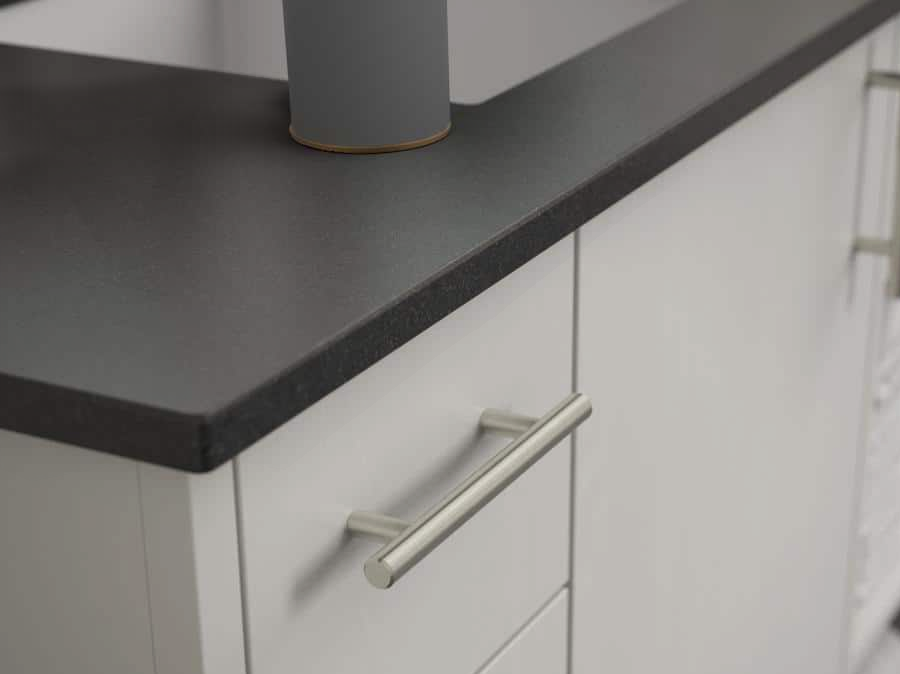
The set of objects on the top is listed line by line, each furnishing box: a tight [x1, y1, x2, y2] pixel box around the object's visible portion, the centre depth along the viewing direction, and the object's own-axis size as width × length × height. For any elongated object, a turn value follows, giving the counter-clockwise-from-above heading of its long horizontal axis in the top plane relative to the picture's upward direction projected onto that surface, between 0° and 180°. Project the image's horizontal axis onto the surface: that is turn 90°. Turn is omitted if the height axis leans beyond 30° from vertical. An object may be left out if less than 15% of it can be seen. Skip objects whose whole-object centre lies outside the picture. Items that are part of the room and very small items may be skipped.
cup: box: [281, 0, 451, 147], centre depth 85 cm, size 8×8×10 cm
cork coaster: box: [288, 120, 452, 154], centre depth 87 cm, size 9×9×1 cm
